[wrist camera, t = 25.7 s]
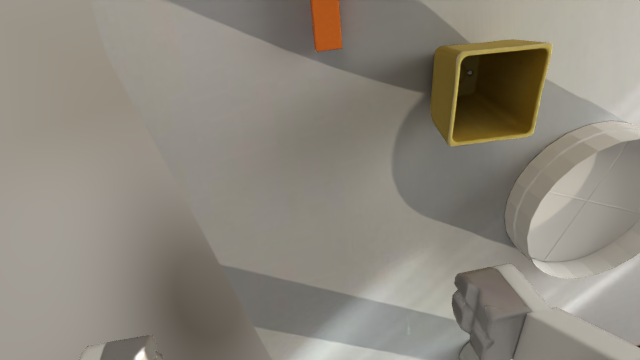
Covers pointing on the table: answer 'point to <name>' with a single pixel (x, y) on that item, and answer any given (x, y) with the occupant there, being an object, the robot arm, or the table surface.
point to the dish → (580, 202)
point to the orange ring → (326, 24)
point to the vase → (468, 353)
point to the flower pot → (488, 90)
